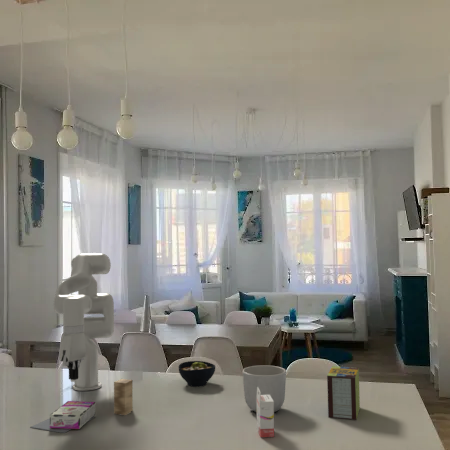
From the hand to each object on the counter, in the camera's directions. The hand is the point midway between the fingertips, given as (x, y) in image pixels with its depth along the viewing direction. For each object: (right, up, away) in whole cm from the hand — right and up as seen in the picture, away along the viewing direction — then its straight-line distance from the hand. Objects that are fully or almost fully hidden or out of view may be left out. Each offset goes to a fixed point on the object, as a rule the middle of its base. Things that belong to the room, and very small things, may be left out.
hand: (73, 378), depth 191 cm
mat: (-2, -14, -6) cm, 15 cm away
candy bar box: (+2, -12, +3) cm, 12 cm away
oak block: (+18, -14, +5) cm, 23 cm away
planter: (+72, -14, +6) cm, 74 cm away
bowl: (+44, -16, +44) cm, 64 cm away
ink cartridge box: (+71, -13, -19) cm, 74 cm away
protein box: (+102, -13, +2) cm, 103 cm away
